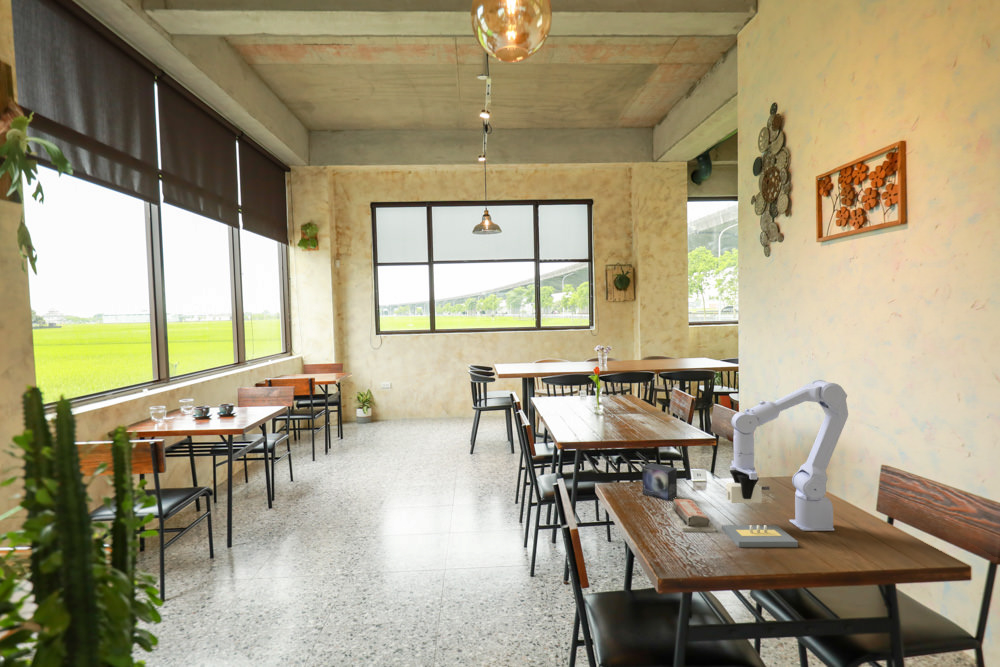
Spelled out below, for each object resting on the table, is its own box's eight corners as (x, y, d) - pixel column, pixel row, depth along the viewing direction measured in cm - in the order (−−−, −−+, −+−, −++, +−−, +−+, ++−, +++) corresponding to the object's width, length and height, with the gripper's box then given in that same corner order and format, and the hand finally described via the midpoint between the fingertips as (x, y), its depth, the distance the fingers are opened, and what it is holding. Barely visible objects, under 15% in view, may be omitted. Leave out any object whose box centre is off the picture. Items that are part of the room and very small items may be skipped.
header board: (776, 530, 158) (776, 518, 158) (798, 547, 146) (797, 534, 146) (722, 530, 159) (721, 518, 158) (738, 547, 147) (738, 534, 146)
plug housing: (766, 498, 165) (766, 482, 165) (771, 502, 161) (771, 486, 161) (726, 498, 166) (726, 482, 166) (731, 503, 162) (731, 486, 162)
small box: (641, 494, 193) (641, 465, 192) (651, 490, 197) (651, 462, 197) (668, 501, 185) (667, 471, 185) (677, 497, 189) (677, 467, 189)
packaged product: (666, 497, 176) (697, 497, 175) (666, 511, 176) (697, 512, 175) (682, 517, 158) (716, 517, 157) (682, 533, 158) (716, 533, 157)
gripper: (721, 446, 171) (722, 488, 171) (739, 458, 156) (740, 504, 156) (744, 446, 170) (744, 488, 171) (764, 458, 156) (764, 504, 156)
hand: (744, 496), depth 163 cm, fingers closed on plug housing, 4 cm apart
